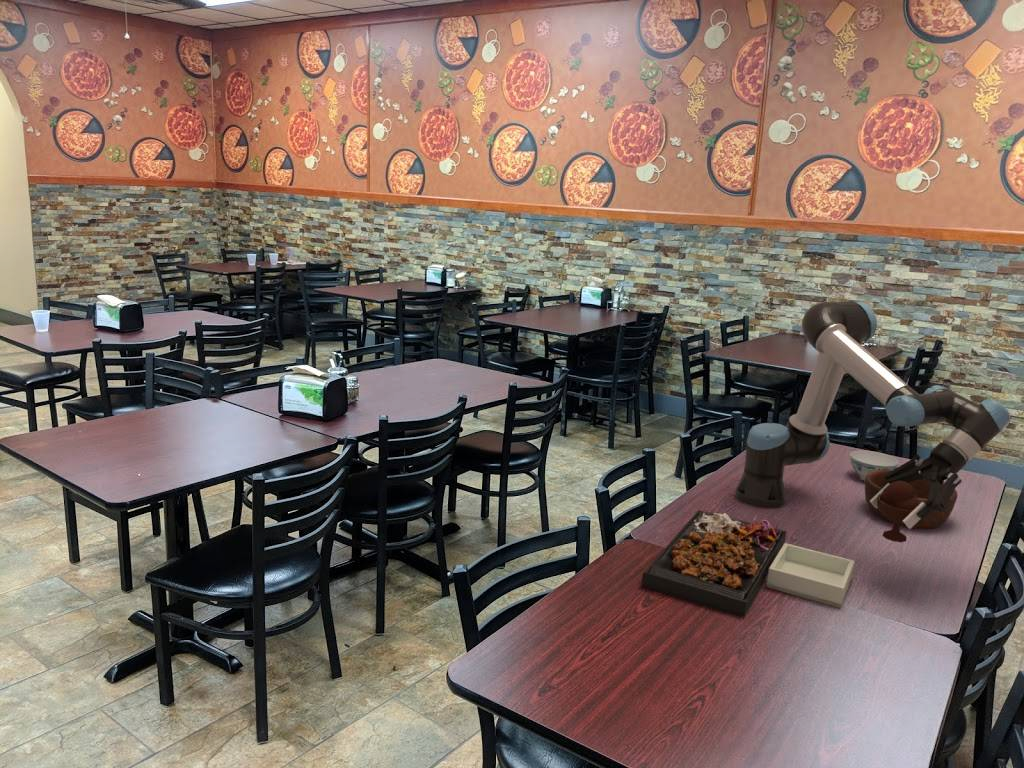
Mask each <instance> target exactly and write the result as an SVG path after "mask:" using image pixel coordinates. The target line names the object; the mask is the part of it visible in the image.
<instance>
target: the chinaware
mask: <svg viewBox="0 0 1024 768" xmlns="http://www.w3.org/2000/svg"><path fill="white" fill-rule="evenodd" d="M849 459H850V464H851V466H852V468H853V470H854V472H855V473H856V474H857V475H858V476H859V479H860V480H861V481H863V480H864V482H865V477H866V475H867V474H868V473H870V472H873V471H877V470H894V469H896V468H897V467H899V463H900V462H899V460H898V459H897V458H895V457H894V456H891V455H889V454H886V453H883V452H879V451H871V450H856V451H852V452H850V453H849Z"/></svg>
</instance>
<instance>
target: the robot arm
mask: <svg viewBox="0 0 1024 768" xmlns="http://www.w3.org/2000/svg"><path fill="white" fill-rule="evenodd" d="M801 321H802V322H801V330H802V333H803V336H804V337H805V339H806V341H807V342H808V343H809V345H811V346H812V348H814V349H815V351H817V352H818V355H817V358H816V361H815V363H814V366H813V368H812V371H811V374H810V377H809V378H808V382H807V385H806V387H805V390H804V392H803V396H802V399H801V401H800V403H799V406H798V409H797V412H796V413H795V414H792V415H791V416H789V419H788V421H787V423H786V425H783V424H781V423H775V422H770V423H769V422H765V423H764V422H763V423H758V424H755V425H754V426H752V427H751V428H750V430H749V431H748V436H747V439H746V449H745V450H746V451H745V459H744V468H743V472H742V475H741V477H740V479H739V481H738V483H737V485H736V487H735V493H734V496H735V499H737V500H738V501H739V502H741V503H743V504H746V505H749V506H752V507H756V508H762V509H763V508H764V509H775V508H780V507H781V508H782V507H783V506H785V505H786V501H787V500H786V499H787V494H786V493H787V492H786V488H785V483H784V472H785V467H786V466H795V465H801V464H810V463H811V464H812V463H814V462H818V461H820V460H821V459H823V458H824V457H825V456H826V455H827V453H828V451H829V449H830V443H831V442H830V441H831V440H829V438H830V434H829V432H828V427H827V425H826V424H825V423H826V420H827V418H828V415H829V413H830V410H831V408H832V405H833V403H834V400H835V397H836V395H837V394H838V390H839V387H840V386H841V385H840V384H841V383H842V380H843V376H844V374H845V372H847V373H848V374H849V375H850V376H851V377H852V378H853V379H854V380H855V381H857V383H858V384H860V385H861V386H862V387H863V388H864V389H866V391H868V392H869V393H870V394H871V395H873V396H874V398H876V399H877V400H878V402H880V403H882V405H884V406H885V413H886V416H887V418H888V420H889V421H890V422H891V423H892V424H893V425H895V426H897V427H915V426H920V425H921V426H922V425H929V424H930V425H931V424H936V423H943V422H944V423H946V424H948V425H950V426H952V427H954V429H953V430H951V431H950V432H949V434H948V435H946V436H945V437H944V438H943V439H942V442H939V443H938V444H937V445H936V446H935V447H933V448H932V450H931V451H930V454H929V456H928V457H926V458H925V459H924V458H922V457H920V455H919V454H915V455H914V456H913V457H912V458H911V459H910V460H907V462H905V463H902V464H901V465H898V466H897V468H896V469H894V470H892V471H891V472H889V473H887V474H885V475H884V478H885V480H886V484H885V485H884V486H882V487H881V489H879V491H878V493H877V494H876V495H875V496H874V497H873V498H872V499H871V500H870V502H871V503H872V505H873V506H874V507H875V508H876V509H877V508H878V506H877V497H878V495H879V494H882V492H883V490H884V489H885V488H886V487H887V486H888V485H889V484H891V483H892V482H895V481H905V482H907V483H909V482H912V481H915V480H917V479H920V480H922V479H925V480H929V481H930V482H931V485H930V489H929V493H928V497H927V501H925V503H926V504H925V503H924V502H922V503H921V504H919V505H918V506H917V507H916V508H915V509H914V510H913V511H912V512H911V513H910V514H909V515H908V516H907V517H906V518H905V519H904V520H903V522H904V523H905V525H906V526H907V527H906V528H908V529H909V530H910V529H913V528H912V527H913V526H914V525H915V524H916V523H917V522H918V521H919V520H920V519H924V518H925V517H926V516H927V515H928V514H929V513H930V512H931V511H934V510H938V511H939V512H942V511H943V510H944V508H945V507H946V505H947V503H948V501H949V499H950V497H951V495H952V493H953V492H954V490H956V488H957V487H958V486H960V484H961V483H962V478H960V476H959V474H958V473H959V472H960V471H961V470H962V469H963V468H964V467H965V466H966V465H967V462H970V461H971V460H973V458H974V457H975V456H976V455H977V454H979V452H981V450H982V449H984V447H985V446H986V445H988V444H989V442H991V441H992V440H993V439H994V438H995V437H996V436H997V435H998V434H1000V433H1001V432H1002V430H1003V429H1004V428H1005V427H1006V426H1007V425H1008V424H1009V423H1010V422H1011V413H1010V412H1009V411H1008V408H1007V407H1005V406H1004V405H1003V404H1001V403H1000V402H998V400H997V401H996V400H994V399H990V398H989V399H988V398H986V399H984V400H983V401H981V402H979V403H977V402H974V401H972V400H970V399H968V398H966V397H964V396H963V395H960V394H958V393H956V392H955V391H953V390H952V389H950V388H947V387H944V386H942V385H937V384H936V385H932V386H931V387H930V388H927V389H926V390H925V391H924V392H923V393H918V392H917V391H916V390H914V389H913V388H912V387H911V386H910V385H908V384H907V383H906V382H905V381H903V379H901V377H899V376H898V375H897V374H895V372H893V371H892V370H891V369H889V368H888V367H887V366H886V365H885V364H884V363H882V362H881V361H880V360H879V359H877V357H876V356H874V355H873V354H872V353H870V351H869V350H867V349H866V348H865V347H864V346H863V345H862V344H863V342H867V341H868V340H870V339H872V338H873V337H874V335H875V334H876V332H877V328H878V320H877V316H876V315H875V312H874V310H873V308H872V307H871V306H870V305H869V304H867V303H865V302H863V301H854V300H847V301H822V302H818V303H816V304H814V305H812V306H810V308H808V309H807V311H805V313H804V315H803V318H802V320H801ZM890 477H891V478H890ZM943 482H945V484H944V486H943ZM942 486H943V488H942ZM941 488H942V489H941ZM940 490H941V491H940Z"/></svg>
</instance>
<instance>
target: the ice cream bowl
mask: <svg viewBox="0 0 1024 768" xmlns="http://www.w3.org/2000/svg"><path fill="white" fill-rule="evenodd" d="M921 503H922V502H921V501H919V500H918V499H917V498H916V494H915V490H914V488H913V487H912V486H911V485H910V484H909V483H907V482H905V481H895V482H892V483H891V484H889V485H888V486H887V487H886V488H885V489H884V490H883V492H882V494H879V495H878V497H877V506H878V509H879V510H880V512H881V513H882V514H883V515H884V516H885V517H886V518H887V519H889V520H890V521H892V522H893V523H892V527H891V528H892V529H887V530H885V531H883V534H882V537H883V538H885V539H886V540H889V541H892V542H895V543H904V542H907V539H908V538H907V536H906V535H905V534H903V533H902V532H901V527H902V526H901V525H902V524H905V523H904V522H903V520H904V519H905V518H906V517H907V516H908V515H909V514H910V513H911V512H912V511H913V510H914V509H915V508H916V507H917V506H918V505H919V504H921Z"/></svg>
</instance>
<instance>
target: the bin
mask: <svg viewBox="0 0 1024 768" xmlns="http://www.w3.org/2000/svg"><path fill="white" fill-rule="evenodd" d="M854 567H855V560H853V559H850V558H849V559H848V558H845V557H841V556H837V555H834V554H830V553H826V552H822V551H818V550H813V549H810V548H806V547H802V546H798V545H794V544H791V543H787V542H785V543H784V545H783V547H782V548H781V550H780V551H779V553H778V555H777V556H776V558H775V560H774V561H773V563H772V564H771V566H770V568H769V572H768V576H767V581H766V588H768V589H771V590H775V591H778V592H779V591H780V592H783V593H787V594H789V595H793V596H796V597H800V598H804V599H807V600H811V601H814V602H817V603H821V604H825V605H829V606H833V607H834V608H835V607H836V608H840V609H841V608H842V606H843V605H842V604H843V603H844V600H845V597H846V594H847V592H848V589H849V587H850V584H851V581H852V579H853V572H854Z"/></svg>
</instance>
